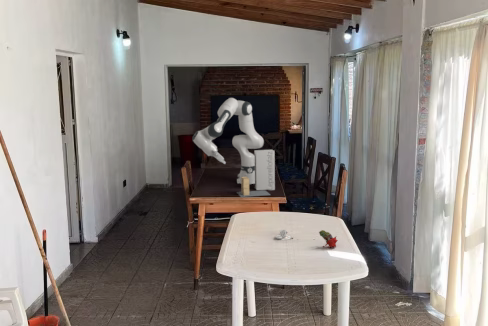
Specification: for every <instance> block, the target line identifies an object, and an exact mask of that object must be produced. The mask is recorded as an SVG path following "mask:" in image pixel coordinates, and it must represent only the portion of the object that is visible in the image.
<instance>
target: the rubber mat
mask: <svg viewBox="0 0 488 326" xmlns="http://www.w3.org/2000/svg"><path fill="white" fill-rule="evenodd" d="M236 194H238V196H239V197H240V198H246V197H260V196H271V193H270V192H268V191H267V190H249V195H243V194H242V191H237V192H236Z"/></svg>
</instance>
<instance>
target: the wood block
mask: <svg viewBox="0 0 488 326" xmlns="http://www.w3.org/2000/svg"><path fill="white" fill-rule="evenodd" d="M240 184H241V185H240V186H241V192H242V194H243V195H249V191H250V184H249V178H248V177H241V183H240Z"/></svg>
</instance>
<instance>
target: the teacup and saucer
mask: <svg viewBox="0 0 488 326" xmlns="http://www.w3.org/2000/svg"><path fill="white" fill-rule="evenodd" d="M279 232H280V233H279V234H277V235H275V236H274V237H275V239H276V240H282V241H285V240H290V239H291V238H292V237H291V235H288V230H287V229H280V230H279ZM286 237H287V238H286Z"/></svg>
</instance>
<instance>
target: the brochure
mask: <svg viewBox="0 0 488 326" xmlns="http://www.w3.org/2000/svg"><path fill="white" fill-rule="evenodd" d="M253 150H254V156H255V184H254V189H255V191H262V190H266V191H267V190H268V191H275V190H276V180H275V179H276V178H275V177H276V176H275V175H276V174H275V173H276V172H275V171H276V169H275V166H276V165H275V163H276V162H275V161H276V159H275V156H276V155H275V154H276V153H275V150H273V149H258V150H255V149H253Z"/></svg>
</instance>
